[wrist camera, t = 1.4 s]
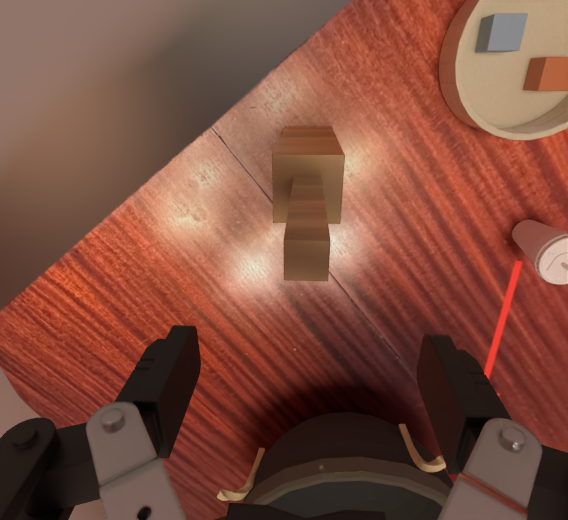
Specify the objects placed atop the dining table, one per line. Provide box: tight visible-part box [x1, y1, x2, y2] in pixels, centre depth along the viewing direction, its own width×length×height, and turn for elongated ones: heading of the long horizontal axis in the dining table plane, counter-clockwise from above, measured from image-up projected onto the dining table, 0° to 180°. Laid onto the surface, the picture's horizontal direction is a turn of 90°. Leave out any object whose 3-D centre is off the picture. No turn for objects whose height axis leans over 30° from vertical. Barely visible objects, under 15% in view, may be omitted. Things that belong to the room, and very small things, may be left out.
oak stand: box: [272, 127, 345, 224], centre depth 42 cm, size 6×6×20 cm
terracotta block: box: [523, 57, 568, 91], centre depth 43 cm, size 3×3×3 cm
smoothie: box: [512, 220, 568, 284], centre depth 48 cm, size 6×6×14 cm
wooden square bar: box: [284, 177, 330, 281], centre depth 26 cm, size 2×2×14 cm
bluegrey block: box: [475, 13, 528, 53], centre depth 42 cm, size 3×3×3 cm
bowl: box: [217, 412, 453, 520], centre depth 65 cm, size 35×35×20 cm
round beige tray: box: [439, 0, 568, 140], centre depth 42 cm, size 17×17×6 cm
